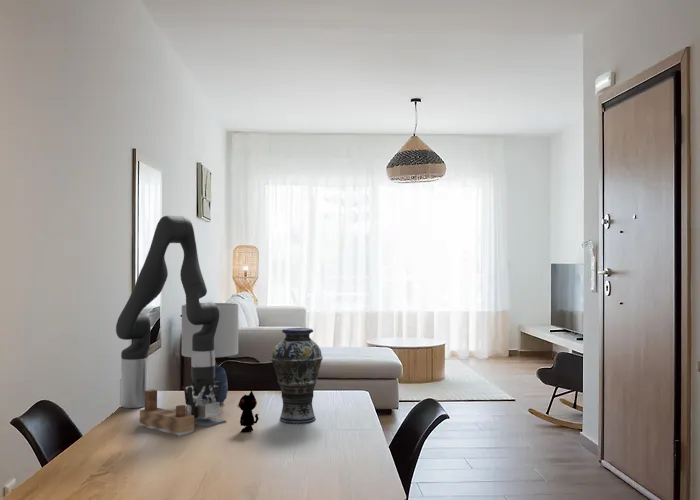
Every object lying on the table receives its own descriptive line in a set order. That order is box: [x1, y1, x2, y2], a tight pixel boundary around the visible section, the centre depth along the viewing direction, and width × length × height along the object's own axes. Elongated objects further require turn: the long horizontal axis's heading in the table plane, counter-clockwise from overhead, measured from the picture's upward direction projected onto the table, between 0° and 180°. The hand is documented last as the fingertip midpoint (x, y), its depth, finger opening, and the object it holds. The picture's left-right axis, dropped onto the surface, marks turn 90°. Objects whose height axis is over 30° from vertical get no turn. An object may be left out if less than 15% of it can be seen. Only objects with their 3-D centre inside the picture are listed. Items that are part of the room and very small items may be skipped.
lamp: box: [181, 302, 239, 405], centre depth 255 cm, size 20×20×37 cm
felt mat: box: [194, 416, 227, 428], centre depth 227 cm, size 12×9×1 cm
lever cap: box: [186, 399, 221, 418], centre depth 227 cm, size 9×6×5 cm, turn 52°
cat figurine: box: [236, 389, 260, 434], centre depth 215 cm, size 7×7×12 cm
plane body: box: [139, 389, 195, 437], centre depth 218 cm, size 20×6×11 cm, turn 52°
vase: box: [270, 326, 323, 425], centre depth 230 cm, size 17×17×30 cm
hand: (203, 415), depth 227 cm, fingers closed on lever cap, 6 cm apart
